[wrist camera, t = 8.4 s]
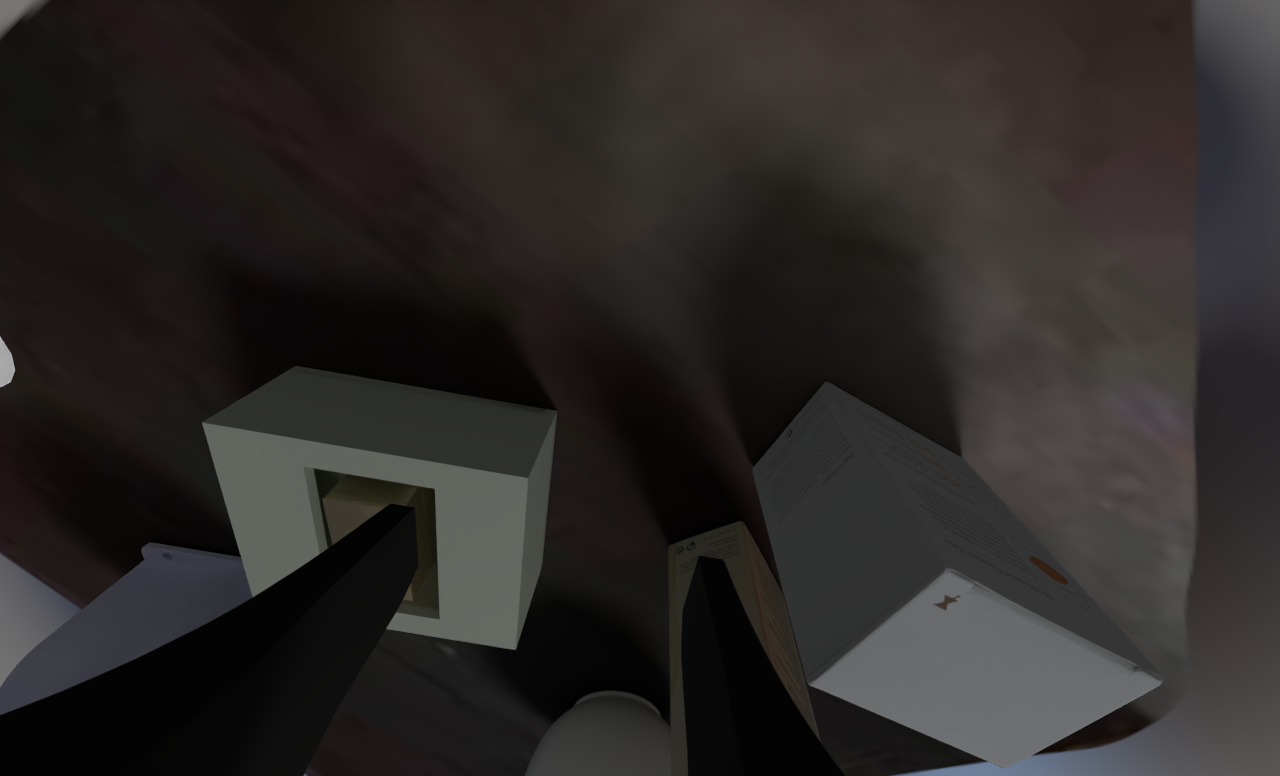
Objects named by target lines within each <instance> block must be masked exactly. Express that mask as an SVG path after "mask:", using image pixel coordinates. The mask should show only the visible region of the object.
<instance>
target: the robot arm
mask: <svg viewBox="0 0 1280 776" xmlns="http://www.w3.org/2000/svg"><path fill="white" fill-rule="evenodd" d="M141 551H142V554H143V557H144V559H145V560H144V561H142V562H141V563H140V564H139V565H137V566H136V567H135V568H134V569H132V570H131V571H130V572H129V573H127V574H126V575H125V576H124V577H122V578H121V579H120V580H119V581H117V582H116V583H115V584H114V585H112V586H111V587H110V588H109V589H107V590H106V591H105V592H104V593H102V594H101V595H100V596H99V597H97V598H96V599H95V600H94V601H92V602H91V603H90V604H89V605H87V606H86V607H85V608H84V609H82V610H81V611H80V612H78V613H77V614H76V615H75V616H74V617H72V618H71V619H70V620H69V621H67V622H66V623H65V624H63V625H62V626H61V627H60V628H59V629H57V630H56V631H55V632H54V633H52V634H51V635H50V636H48V637H47V638H46V639H45V640H43V641H42V642H41V643H40V644H38V645H37V646H36V647H35V648H34V649H33V650H32V651H31V652H30V653H28V654H27V655H26V656H25V657H24V659H22V661H20V662H19V664H18V665H17V666H16V667H15V669H13V671H12V672H11V673H10V674H9V676H8V677H7V678H6V680H5V681H4V683H3V684H2V686H1V687H0V776H303V775H304V773H305V771H306V769H307V767H308V765H309V763H310V761H311V759H312V757H313V755H314V753H315V751H316V749H317V747H318V745H319V743H320V741H321V739H322V737H323V735H324V733H325V731H326V729H327V727H328V725H329V723H330V721H331V719H332V717H333V715H334V714H335V712H336V710H337V708H338V707H339V705H340V703H341V701H342V700H343V698H344V696H345V694H346V693H347V691H348V690H349V688H350V686H351V685H352V683H353V682H354V680H355V678H356V677H357V675H358V673H359V672H360V670H361V669H362V667H363V665H364V664H365V662H366V661H367V659H368V657H369V656H370V654H371V653H372V651H373V649H374V648H375V646H376V644H377V643H378V641H379V640H380V638H381V636H382V635H383V633H384V631H385V630H386V628H387V627H388V625H389V623H390V622H391V620H392V618H393V617H394V615H395V613H396V612H397V610H398V608H399V607H400V605H401V603H402V601H403V599H404V597H405V595H406V592H407V590H408V588H409V586H410V584H411V582H412V580H413V577H414V575H415V573H416V571H417V568H418V566H419V565H418V549H417V533H416V517H415V507H409V506H403V505H397V504H389V505H388V506H386V507H385V508H383V509H382V510H380V511H379V512H378V513H376V514H375V515H373V516H372V517H371V518H369V519H368V520H367V521H365V522H364V523H362V524H361V525H360V526H358V527H357V528H356V529H354V530H353V531H351V532H350V533H349V534H347V535H346V536H344V537H343V538H342V539H340V540H339V541H337V542H336V543H335V544H333V545H332V546H330V547H329V548H327V549H326V550H324V551H323V552H322V553H320V554H319V555H317V556H316V557H314V558H313V559H311V560H310V561H309V562H307V563H306V564H304V565H303V566H301V567H300V568H298V569H297V570H295V571H293V572H292V573H290V574H289V575H287V576H286V577H284V578H283V579H281V580H279V581H278V582H276V583H275V584H273V585H272V586H270V587H268V588H267V589H265V590H264V591H262V592H260V593H259V594H257V595H256V596H254V597H253V596H252V593H251V590H250V586H249V583H248V579H247V576H246V572H245V569H244V565H243V562H242V558H241V557H237V556H231V555H225V554H219V553H213V552H207V551H201V550H195V549H189V548H183V547H177V546H170V545H164V544H158V543H148V544H146V545H145V546H144V547H142V549H141ZM681 664H682V680H683V695H684V710H685V725H686V740H687V761H688V776H845V774H844V773H843V772H842V770H841V769H840V768H839V766H838V765H837V764H836V762H835V761H834V760H833V758H832V757H831V756H830V754H829V753H828V752H827V750H826V749H825V748H824V746H823V745H822V743H821V742H820V740H819V739H818V737H817V736H816V734H815V733H814V731H813V730H812V729H811V727H810V726H809V724H808V723H807V721H806V720H805V718H804V716H803V715H802V713H801V712H800V710H799V709H798V707H797V706H796V704H795V702H794V701H793V699H792V698H791V696H790V694H789V693H788V691H787V689H786V688H785V686H784V684H783V682H782V681H781V679H780V677H779V675H778V674H777V672H776V670H775V668H774V666H773V665H772V663H771V661H770V659H769V657H768V656H767V654H766V652H765V650H764V648H763V646H762V644H761V642H760V640H759V638H758V636H757V634H756V632H755V630H754V628H753V626H752V624H751V622H750V620H749V618H748V615H747V613H746V611H745V609H744V607H743V604H742V602H741V600H740V598H739V595H738V593H737V591H736V588H735V586H734V584H733V581H732V579H731V576H730V574H729V571H728V568H727V566H726V563H725V562H724V561H723V559H717V558H711V557H705V556H699V557H698V560H697V563H696V567H695V570H694V573H693V577H692V580H691V583H690V587H689V590H688V593H687V597H686V600H685V603H684V607H683V610H682V632H681Z"/></svg>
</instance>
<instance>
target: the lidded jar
mask: <svg viewBox="0 0 1280 776" xmlns="http://www.w3.org/2000/svg"><path fill="white" fill-rule="evenodd" d="M525 776H671V727H670V726H669V725H668V724H667V722H666V721H665V720H664V719H663V718H662V717H661V714H660V712H659V710H658V709H657V708H656V707H655V705H653V704H652V703H651V702H650V701H648V700H646V699H645V698H643V697H641V696H638V695H636V694H633V693H629V692H624V691H616V690H605V691H597V692H593V693H590V694H588V695H585V696H583V697H582V698H580V699H579V700H578V701H577V702H576V703H575V704H574V706H573V707H572V708H571V709H569V710H568V711H566V712H565V713H564V714H562V715H561V716H560V717H559V718H558V719H557V720H556V721H555V722H554V723H553V724H552V725H551V726H550V727H549V729H548V730H547V731H546V733H545V734H544V735H543V737H542V739H541V740H540V742H539V743H538V745H537V747H536V749H535V751H534V753H533V756H532V758H531V760H530V762H529V765H528V768H527V770H526V773H525Z"/></svg>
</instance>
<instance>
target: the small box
mask: <svg viewBox="0 0 1280 776" xmlns="http://www.w3.org/2000/svg"><path fill="white" fill-rule="evenodd" d="M752 472H753V476H754V480H755V484H756V488H757V492H758V496H759V500H760V504H761V507H762V511H763V515H764V520H765V523H766V527H767V530H768V534H769V538H770V542H771V546H772V550H773V554H774V558H775V562H776V565H777V570H778V573H779V577H780V581H781V585H782V589H783V593H784V597H785V601H786V605H787V608H788V612H789V616H790V620H791V624H792V627H793V631H794V635H795V638H796V642H797V646H798V651H799V655H800V658H801V662H802V665H803V669H804V673H805V677H806V681H807V683H808V685H809V686H812V687H815V688H818V689H820V690H822V691H825V692H827V693H829V694H832V695H834V696H836V697H839V698H841V699H843V700H846V701H848V702H850V703H853V704H855V705H858V706H860V707H862V708H865V709H867V710H869V711H872V712H874V713H876V714H879V715H881V716H883V717H886V718H888V719H891V720H893V721H895V722H898V723H900V724H902V725H905V726H907V727H909V728H912V729H914V730H916V731H918V732H921V733H923V734H925V735H928V736H930V737H932V738H935V739H937V740H939V741H942V742H944V743H947V744H949V745H952V746H954V747H956V748H958V749H961V750H963V751H965V752H967V753H970V754H972V755H974V756H977V757H979V758H981V759H984V760H986V761H988V762H991V763H993V764H995V765H998V766H999V767H1001V768H1007V767H1009V766H1011V765H1013V764H1015V763H1017V762H1020V761H1022V760H1024V759H1026V758H1028V757H1029V756H1031V755H1033V754H1035V753H1037V752H1039V751H1041V750H1042V749H1044V748H1046V747H1048V746H1050V745H1051V744H1053V743H1055V742H1057V741H1059V740H1061V739H1063V738H1064V737H1066V736H1068V735H1070V734H1072V733H1074V732H1076V731H1077V730H1079V729H1081V728H1083V727H1085V726H1087V725H1088V724H1090V723H1092V722H1094V721H1096V720H1098V719H1099V718H1101V717H1103V716H1105V715H1107V714H1109V713H1110V712H1112V711H1114V710H1116V709H1118V708H1120V707H1121V706H1123V705H1125V704H1127V703H1129V702H1131V701H1132V700H1134V699H1136V698H1138V697H1140V696H1142V695H1143V694H1145V693H1147V692H1149V691H1151V690H1152V689H1154V688H1156V687H1158V686H1160V684H1161V683H1162V682H1163V676H1162V675H1161V673H1160V672H1159V671H1158V670H1157V669H1156V668H1155V667H1154V666H1153V664H1152V663H1151V662H1150V661H1149V660H1148V659H1147V658H1146V657H1145V656H1144V655H1143V654H1142V652H1141V651H1140V650H1139V649H1138V648H1137V647H1136V646H1135V645H1134V644H1133V642H1132V641H1131V640H1130V639H1129V638H1128V637H1127V636H1126V635H1125V634H1124V633H1123V632H1122V630H1121V629H1120V628H1119V627H1118V626H1117V625H1116V624H1115V623H1114V622H1113V621H1112V620H1111V619H1110V617H1109V616H1108V615H1107V614H1106V613H1105V612H1104V611H1103V610H1102V609H1101V608H1100V607H1099V606H1098V604H1097V603H1096V602H1095V601H1094V600H1093V599H1092V598H1091V597H1090V596H1089V595H1088V594H1087V592H1086V591H1085V590H1084V589H1083V588H1082V587H1081V586H1080V585H1079V584H1078V583H1077V581H1076V580H1075V579H1074V578H1073V577H1072V576H1071V575H1070V574H1069V573H1068V572H1067V571H1066V570H1065V569H1064V567H1063V566H1062V565H1061V564H1060V563H1059V562H1058V561H1057V560H1056V559H1055V558H1054V557H1053V555H1052V554H1051V553H1050V552H1049V551H1048V550H1047V549H1046V548H1045V547H1044V546H1043V545H1042V544H1041V543H1040V541H1039V540H1038V539H1037V538H1036V537H1035V536H1034V535H1033V534H1032V533H1031V532H1030V530H1029V529H1028V528H1027V527H1026V526H1025V525H1024V524H1023V523H1022V522H1021V521H1020V520H1019V519H1018V518H1017V516H1016V515H1015V514H1014V513H1013V512H1012V511H1011V510H1010V509H1009V508H1008V507H1007V505H1006V504H1005V503H1004V502H1003V501H1002V500H1001V499H1000V498H999V497H998V496H997V495H996V494H995V492H994V491H993V490H992V489H991V488H990V487H989V486H988V485H987V484H986V483H985V481H984V480H983V479H982V478H981V477H980V476H979V475H978V474H977V473H976V472H975V471H974V469H973V468H972V467H971V466H970V465H969V464H968V463H967V462H966V461H965V460H964V459H963V458H962V457H960V456H958V455H956V454H954V453H952V452H951V451H949V450H947V449H945V448H943V447H942V446H940V445H938V444H936V443H935V442H933V441H931V440H929V439H927V438H926V437H924V436H922V435H920V434H919V433H917V432H915V431H913V430H912V429H910V428H908V427H906V426H905V425H903V424H901V423H899V422H897V421H896V420H894V419H892V418H891V417H889V416H887V415H885V414H884V413H882V412H880V411H878V410H877V409H875V408H873V407H871V406H869V405H868V404H866V403H864V402H862V401H860V400H859V399H857V398H855V397H853V396H852V395H850V394H848V393H846V392H845V391H843V390H841V389H839V388H838V387H836V386H834V385H833V384H831V383H830V382H827V381H825V382H824V383H823V385H822V386H821V387H820V388H819V389H818V391H817V392H816V393H815V394H814V395H813V397H812V398H811V399H810V400H809V401H808V403H807V404H806V405H805V406H804V407H803V409H802V410H801V411H800V412H799V413H798V414H797V416H796V417H795V418H794V419H793V421H792V422H791V423H790V424H789V425H788V427H787V428H786V429H785V430H784V431H783V433H782V434H781V435H780V436H779V438H778V439H777V440H776V441H775V442H774V443H773V445H772V446H771V447H770V448H769V449H768V451H767V452H766V453H765V454H764V455H763V456H762V458H761V459H760V460H759V461H758V462H757V464H756V465H755V466H754V467H753V469H752Z"/></svg>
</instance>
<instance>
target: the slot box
mask: <svg viewBox="0 0 1280 776" xmlns="http://www.w3.org/2000/svg"><path fill="white" fill-rule="evenodd" d="M556 417H557V411H554V410H548V409H542V408H537V407H531V406H525V405H519V404H514V403H508V402H502V401H496V400H490V399H485V398H479V397H473V396H467V395H462V394H456V393H450V392H444V391H438V390H433V389H427V388H421V387H415V386H410V385H404V384H398V383H392V382H386V381H381V380H375V379H369V378H363V377H358V376H352V375H346V374H340V373H335V372H329V371H323V370H317V369H311V368H306V367H300V366H295V367H293V368H291V369H290V370H288V371H286V372H285V373H283V374H282V375H280V376H278V377H277V378H275V379H273V380H272V381H270V382H268V383H267V384H265V385H263V386H262V387H260V388H258V389H257V390H255V391H253V392H252V393H250V394H248V395H247V396H245V397H244V398H242V399H240V400H239V401H237V402H235V403H234V404H232V405H230V406H229V407H227V408H225V409H224V410H222V411H220V412H219V413H217V414H215V415H214V416H212V417H211V418H209V419H207V420H206V421H204V422H202V424H203V427H204V431H205V434H206V438H207V441H208V445H209V448H210V452H211V455H212V458H213V462H214V465H215V469H216V472H217V476H218V479H219V483H220V486H221V489H222V493H223V496H224V500H225V503H226V507H227V510H228V514H229V517H230V521H231V524H232V527H233V531H234V534H235V538H236V541H237V545H238V548H239V552H240V555H241V558H242V562H243V565H244V569H245V572H246V576H247V579H248V583H249V586H250V590H251V593H252V596H253V597H254V596H256V595H257V594H259V593H260V592H262V591H264V590H265V589H267V588H268V587H270V586H272V585H273V584H275V583H276V582H278V581H279V580H281V579H283V578H284V577H286V576H287V575H289V574H290V573H292V572H293V571H295V570H297V569H298V568H300V567H301V566H303V565H304V564H306V563H307V562H309V561H310V560H311V559H313V558H314V557H316V556H317V555H319V554H320V553H322V552H323V551H324V550H326V549H327V548H329V547H330V546H332V541H331V536H330V532H329V527H328V523H327V518H326V514H325V509H324V505H323V500H322V499H323V498H324V497H325V496H326V495H327V494H328V493H329V492H330V491H331V490H332V489H333V488H334V487H335V486H336V485H337V484H338V483H339V482H340V481H341V480H342V479H343V478H344V477H345V476H346V475H347V474H351V475H357V476H363V477H368V478H374V479H380V480H386V481H392V482H398V483H404V484H410V485H416V486H421V487H427V488H433V489H435V506H436V533H437V559H436V561H435V563H434V564H433V566H432V568H431V570H430V571H429V573H428V575H427V577H426V579H425V580H424V582H423V584H422V586H421V587H420V589H419V591H418V593H417V594H416V596H415V598H414V600H413V601H409V600H403V601H402V603H401V605H400V607H399V608H398V610H397V612H396V613H395V615H394V617H393V618H392V620H391V622H390V623H389V625H388V627H387V628H386V629H391V630H397V631H403V632H409V633H415V634H421V635H427V636H433V637H439V638H445V639H452V640H458V641H464V642H470V643H476V644H482V645H488V646H494V647H500V648H506V649H512V650H516V648H517V645H518V641H519V638H520V635H521V632H522V628H523V625H524V622H525V619H526V616H527V612H528V609H529V606H530V603H531V599H532V596H533V593H534V590H535V587H536V583H537V580H538V577H539V574H540V570H541V567H542V560H543V549H544V539H545V529H546V519H547V509H548V499H549V488H550V478H551V468H552V458H553V448H554V438H555V427H556Z"/></svg>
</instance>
